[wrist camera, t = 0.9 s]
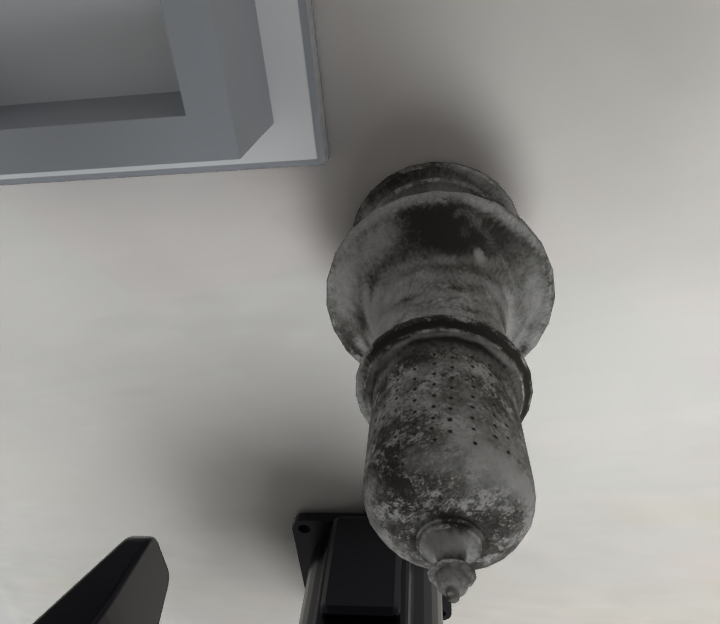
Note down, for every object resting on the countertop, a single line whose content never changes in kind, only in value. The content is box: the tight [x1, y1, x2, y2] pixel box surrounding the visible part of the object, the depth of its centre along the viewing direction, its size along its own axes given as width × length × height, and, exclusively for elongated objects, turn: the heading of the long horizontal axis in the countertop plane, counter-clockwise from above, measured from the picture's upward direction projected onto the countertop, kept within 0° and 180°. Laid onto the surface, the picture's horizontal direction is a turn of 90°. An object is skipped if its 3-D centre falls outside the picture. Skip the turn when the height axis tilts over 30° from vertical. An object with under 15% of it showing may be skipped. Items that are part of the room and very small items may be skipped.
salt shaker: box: [327, 162, 555, 603], centre depth 13 cm, size 6×6×12 cm
